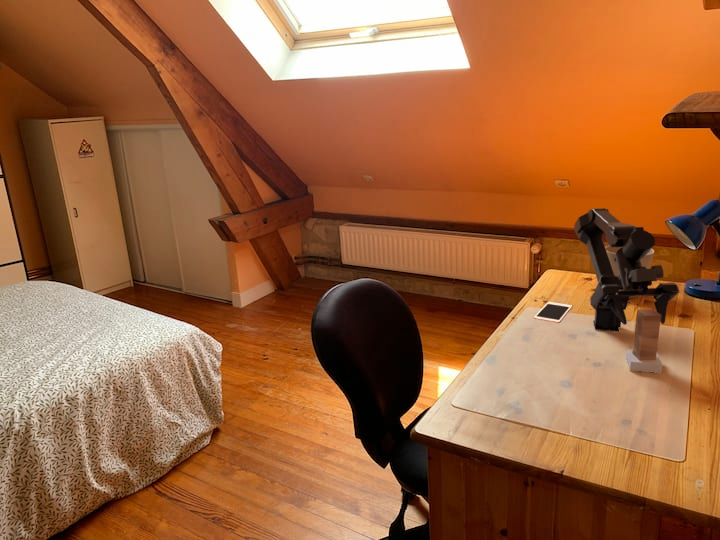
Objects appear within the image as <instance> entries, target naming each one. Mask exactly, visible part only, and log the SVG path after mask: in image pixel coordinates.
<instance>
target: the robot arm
mask: <svg viewBox="0 0 720 540" xmlns="http://www.w3.org/2000/svg"><path fill="white" fill-rule="evenodd" d="M573 227H574V229H573V230H574V233H575V234H576V236H577V239H578V240H579V241H580V242H581V243H583V244H584V245H585V246H586V247H587V251H588V254H589V257H590V261H591V264H592V266H593V270H594V273H595V276H596V279H597V285H596V286H595V289H594V293H593V294H592V295H591V296H590V300H589V302H590V306H591V307H592V308H593V309H594V320H593V327H594V330H596V331H605V332H606V331H607V332H608V331H609V332H620V328H621V325H623V326H625V325H627V324H628V323H627V317H626V313H625V311H626V309H627V307H628V303H629V300H630V298H629V296H636V297H653V299H654V300H655V301H653V305H654V308H655V311H657V312H658V313H659V314H661V322H660V325H664V324H665V323H666V317H667V308H668V304H669V302H670V301H672V300H673V299H674V298H675V297H676V296H677V295H678V294H679V293H680V289H679V286H678V285H677V284H676V283H675V282H661V283H659V284H658V285H657V286H656V287H653V288H652V287H651V288H650V286H652V285H653V282H657V281H658V279H663V278H664V276H665V275H664V274H665V273H664V269H663V267H662V265H661V264H660V265H659V264H658V265H657V264H656V265H652V266H650V267H651V268H649V269H646V268H645V267H643V266H642V262H641V259H643V258H644V257H645V256H646V255H647V253H648V252H649V251H650V250H651V249H653V248H654V246H655V244H656V238H655V237H654V235H652V233H650V232H649V231H646V230H645V229H644V226H636V225H634V224H631V223H624V222H621V221H620V220H618V219H617V217H616V216H614V215H613V214H611V212H610V211H609V209H608V208H605V207H604V208H603V207H598V208H591V209H589V210H588V211H587V213H584V214H582V215H580V216H579V217H578V218H577V219H576V221H575V223H574V226H573ZM604 235H605V241H606V243H607V245H608V246H610V247H622V248H620V249H619V250H618V251H617V252H616V254H615V256H614V261H617V265H618V269H619V273H620V275H619V276H615V275H614V272H613V269H612V266H611V263H610V260H609V257H608V254H607V251H606V248H605V247H606V245H605V242H604V241H603V237H604Z"/></svg>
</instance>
